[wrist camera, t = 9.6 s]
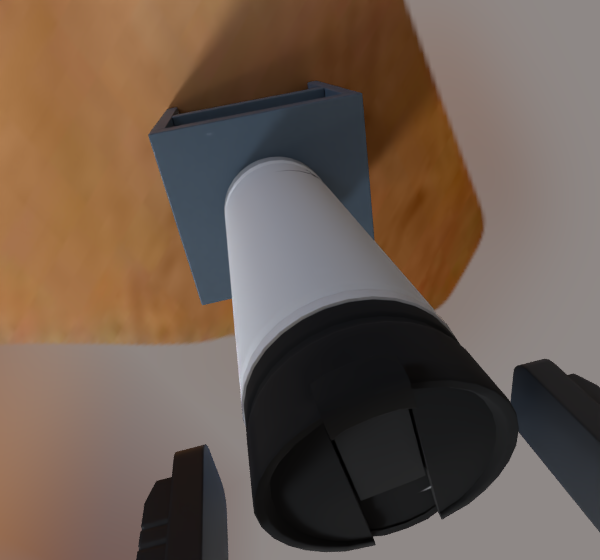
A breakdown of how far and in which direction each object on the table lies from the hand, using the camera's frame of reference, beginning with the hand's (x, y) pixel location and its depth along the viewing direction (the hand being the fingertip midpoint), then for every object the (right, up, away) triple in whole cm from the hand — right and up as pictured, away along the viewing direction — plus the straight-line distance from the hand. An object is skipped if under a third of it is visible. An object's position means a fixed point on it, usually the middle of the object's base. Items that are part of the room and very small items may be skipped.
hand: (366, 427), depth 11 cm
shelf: (-5, +14, +26) cm, 30 cm away
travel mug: (-3, +8, +16) cm, 18 cm away
